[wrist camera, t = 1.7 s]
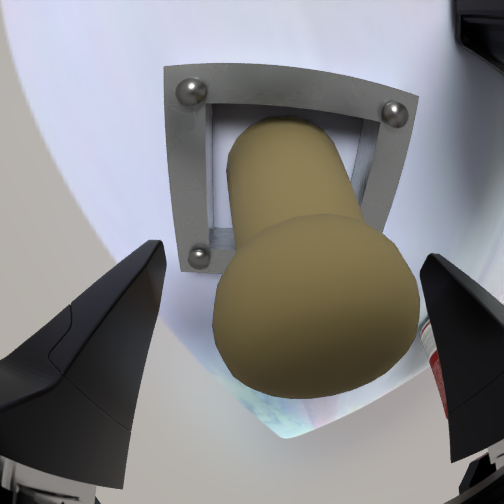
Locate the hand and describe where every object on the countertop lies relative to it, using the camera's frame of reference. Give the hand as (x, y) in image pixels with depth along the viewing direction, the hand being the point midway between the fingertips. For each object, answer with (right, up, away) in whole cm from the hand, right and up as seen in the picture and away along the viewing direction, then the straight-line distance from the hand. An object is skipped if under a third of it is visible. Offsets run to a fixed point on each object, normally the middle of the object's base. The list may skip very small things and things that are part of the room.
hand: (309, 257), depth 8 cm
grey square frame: (0, +4, +6) cm, 7 cm away
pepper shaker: (0, +4, +6) cm, 7 cm away
